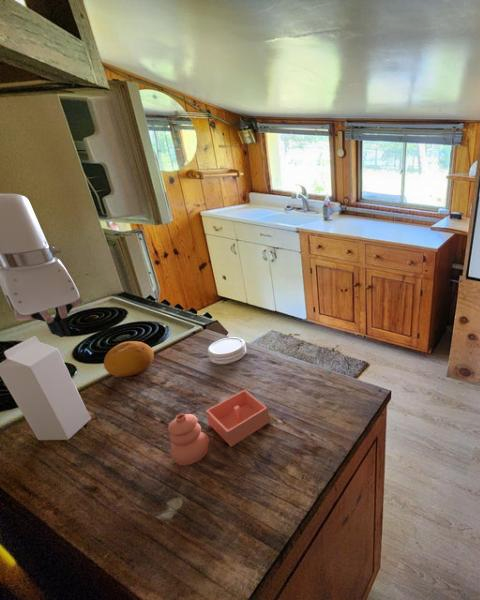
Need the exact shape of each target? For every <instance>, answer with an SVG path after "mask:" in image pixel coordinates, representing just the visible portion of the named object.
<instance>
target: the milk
mask: <svg viewBox="0 0 480 600" xmlns="http://www.w3.org/2000/svg"><path fill="white" fill-rule="evenodd" d="M3 354H4V356H5V358H6V359H3V360H2V361H1V362H0V378H1V381H3V384H4V385H5V387H6V388H7V390H8V391H9V393H10V395H11V397H12V398H13V400H14V401H15V403H16V405H17V407H18V408H19V410H20V412H21V413H22V415H23V417H24V419H25V420H26V422H27V424H28V425H29V427H30V429H31V431H32V432H33V434H34V435H35V437H36V439H37V440H38V441H69V440H70V439H71V438H72V437H73V436H74V435H76V433H78V432H79V431H80V430H81V429H82V428H83V427H84V426H85V425H87V423H88V422H89V421H90V420H91V419H92V418H91V416H90V414H89V411H88V409H87V407H86V405H85V403H84V401H83V399H82V397H81V395H80V393H79V391H78V388H77V386H76V384H75V382H74V380H73V378H72V375H71V374H70V371H69V369H68V367H67V365H66V364H65V361H64V358H63V357H62V355H61V353H60V351H59V349H58V348H57V347H55V346H52V345H49V344H47V343H44V342H42V341H39V338H38V337H37V335H32V336H30V337H29V338H27V339H25V340H22V341H21V342H19V343H17V344H16V345H14V346H12V347H9V348H8V349H6V350H4V352H3Z"/></svg>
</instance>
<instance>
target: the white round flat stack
mask: <svg viewBox="0 0 480 600" xmlns="http://www.w3.org/2000/svg"><path fill="white" fill-rule="evenodd" d="M240 341H241V342H240ZM247 351H248V350H247V346H246V342H245V340H244V339H242V338H240V337H236V336H234V337H233V336H232V337H231V336H230V337H224V338H221V339H218V340H215V341H214V342H212V343H211V344H210V345H209V346H208V348H207V354H208V359H209V361H210V362H211V363H213V364H216V365H228V364H234V363H235V362H237V361H240V360H242V358H244V357H245V356H246V354H247Z"/></svg>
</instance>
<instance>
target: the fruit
mask: <svg viewBox="0 0 480 600" xmlns="http://www.w3.org/2000/svg"><path fill="white" fill-rule="evenodd" d="M154 357H155V353H154V350H153V348H151V346H149V344H147V343H144V342H143V341H142V342H141V341H135V340H134V341H133V340H130V341H124V342H123V341H122V342H121V343H119V344H116V345H115V346H113V347H112V348H111V349H109V350H108V352H107V353H106V355H105V356H104V359H103V367H104V369H105V370H106V372H107V373H108V374H109V375H111V376H113V377H117V378H124V377H125V378H126V377H131V376H134V375H138V374H140V373H141V372H143V371H145V370H146V369H148V367H150V366H151V364H152V363H153V361H154Z"/></svg>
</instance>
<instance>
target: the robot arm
mask: <svg viewBox="0 0 480 600" xmlns="http://www.w3.org/2000/svg"><path fill="white" fill-rule="evenodd" d="M61 252H62V251H61V248H60V247H59V246H53V245H52V246H51V245H49V243H48V240H47V239H46V237H45V234H44V232H43V229H42V227H41V225H40V223H39V220H38V218H37V215H36V213H35V211H34V209H33V207H32V204H31V202H30V201H29V199H28V198H27V197H26V196H24V195H22V194H18V193H0V288H1V290H2V293H3V295H4V297H5V299H6V302H7V303H8V305H9V307H10V309H11V310H13V311H14V318H15V319H16V320H17V321H19V322H22V321H29V320H31V321H32V320H37V321H41V322H45V323H46V325H47V327H48V330H49V332H50V333H51V334H52V335H53V336H54V335H56V336H58V337H60V338H64V337H65V336H70V335H71V332H70V331H69V330H71V329H72V327H71V325H70V323H69V321H68V319H67V318H68V317H69V314H70V312H71V310H72V309H73V308H75V307H78V306H80V304H83V303H84V301H83V298H81V295H80V293H79V289H78V288H77V286H76V284H75V282H74V280H73V278H72V277H71V275H70V273H69V272H68V270H67V269H66V267H65V265H64V263H62V261H61V260H60V259H59V258H58V257H56V254H58V253H61ZM51 309H54V316H52V315H51V314H50V312H49V311H48V310H51Z"/></svg>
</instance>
